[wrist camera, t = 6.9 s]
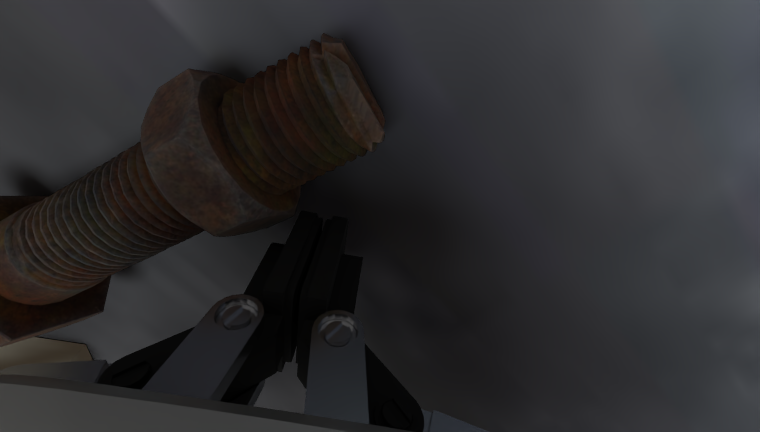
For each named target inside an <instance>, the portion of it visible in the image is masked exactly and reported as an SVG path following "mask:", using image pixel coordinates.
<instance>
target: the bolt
mask: <svg viewBox="0 0 760 432" xmlns="http://www.w3.org/2000/svg"><path fill="white" fill-rule="evenodd" d="M384 124H385V118H384V116H383V113H382V111H381V108H380V106H379V105H378V103H377V101H376V100H375V98H374V96H373V94H372V92H371V90H370V88H369V86H368V84H367V82H366V80H365V77H364V75H363V73H362V71H361V69H360V67H359V65H358V64H357V62H356V61H355V59H354V57H353V56H352V54H351V53H350V51H349V49H348V48H347V46H346V44H345V42H344V41H343V39H337V38H333V37H331V36H329V35H327V34H325V33H323V34H322V36H321V43H319V42H317V41H315V40H311V41H310V49H308V48H307V47H300V53H299V55H297V54H294V53H291V54H290V55H289V56H288V60H285V59H282V60H278V63H277V66H275V65H273V66H268V67H267V70H266V72H263V71H260V72H259V73H257V74H256V75H255V77H252V78H247V79H246V82H245V83H239V82H238V81H236V80H234V79H231V78H229V77H226V76H224V75H221V74H217V73H214V72H207V71H200V70H194V69H187V70H186V71H184V72H182V73H181V74H179V75H178V76H176V77H175V78H173V79H172V80H170V81H168V82H167V83H165V84H164V85H162V86H161V87H159V88H158V89H157V91H156V93H155V95H154V97H153V99H152V101H151V103H150V105H149V107H148V109H147V112H146V115H145V117H144V120H143V123H142V126H141V142H139V143H137V144H136V145H135V146H133V147H131V148H129V149H128V150H126V151H124V152H122V153H120V154H119V155H118V156H117V157H114V158H112V159H111V160H110V161H108V162H105V163H104V164H103V165H102V166H99V167H97V168H96V169H94V170H92V171H90V172H89V173H88V174H87V175H85V176H84V177H81V178H80V179H78V180H77V181H74V182H73V183H71V184H69V185H67V186H65V187H64V188H62V189H61V190H58V191H57V192H55V193H54V194H53V195H51V196H0V347H3V346H7V345H10V344H13V343H16V342H19V341H23V340H26V339H29V338H32V337H35V336H38V335H41V334H44V333H48V332H51V331H54V330H57V329H60V328H63V327H65V326H68V325H71V324H74V323H77V322H79V321H82V320H85V319H87V318H90V317H92V316H94V315H97V314H99V313H101V312H103V310H104V305H105V301H106V296H107V292H108V287H109V283H110V278H111V275H113V274H114V273H116V272H119V271H121V270H122V269H125V268H128V267H129V266H131V265H133V264H136V263H138V262H140V261H143V260H145V259H148V258H149V257H151V256H154V255H156V254H158V253H159V252H162V251H164V250H166V249H167V248H169V247H171V246H174V245H176V244H178V243H180V242H183V241H185V240H186V239H189V238H191V237H193V236H194V235H197V234H199V233H201V232H202V231H207V232H209V233H210V234H212V235H213V236H219V237H226V236H235V235H240V234H244V233H249V232H253V231H257V230H260V229H264V228H268V227H270V226H272V225H274V224H277V223H279V222H281V221H283V220H286V219H288V218H290V217H292V216H294V215H295V212H296V208H297V204H298V200H299V197H300V192H301V185H304V184H305V183H306V182H307V181H310V180H314V179H315V178H316V177H317V176H322V175H324V174H325V172H326V171H334V169H335V167H336V166H344V164H345V163H346V161H347V160H348V161H353V160H355V159H356V156H357V155H358V156H364V155H366V152H367V150H369V151H371V152H374V151H375V150H376V147H377V143H381V142H382V141H384V137H385V132H384V130H383V129H384Z"/></svg>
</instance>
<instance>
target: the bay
mask: <svg viewBox="0 0 760 432" xmlns="http://www.w3.org/2000/svg"><path fill="white" fill-rule="evenodd" d="M92 360H93V359H92V357H91V355H90V353H89V351H88V349H87V347H86V345H85V344H78V343H71V342H65V341H58V340H51V339H44V338H37V337H32V338H29V339H26V340H23V341H19V342H16V343H13V344H10V345H7V346H3V347H0V370H3V369H5V368H8V367H10V366H16V365H21V364H36V363H54V362H73V361H92Z"/></svg>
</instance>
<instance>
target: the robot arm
mask: <svg viewBox="0 0 760 432" xmlns="http://www.w3.org/2000/svg"><path fill="white" fill-rule="evenodd" d="M322 222H323V219H322V218H318V214H317V213H313V212H307V211H301V213H300V215H299V217H298V219H297V221H296V223H295V225H294V227H293V229H292V231H291V233H290V235H289V237H288V239H287V241H286V243H285V244H279V243H272V244H271V245H270V247H269V248H268V250H267V252H266V254H265V256H264V258H263V259H262V261H261V263H260V265H259V267H258V269H257V270H256V272H255V274H254V276H253V278H252V280H251V281H250V283H249V285H248V287H247V289H246V290H245V292H244V294H240V295H232V296H229V297H225V298H224V299H222V300H220V301H218V302H217V303H216V304H215V305H214V306H213V307H212V308H211V309H210V310H209V311H208V312H207V314H206V315H205V316H204V317H203V318H202V319H201V321H200V322H199V323H198V324H197V325H196V326H195V327H193V328H191V329H188V330H186V331H184V332H181V333H179V334H177V335H174V336H172V337H169V338H167V339H165V340H162V341H160V342H158V343H155V344H153V345H151V346H148V347H146V348H143V349H141V350H139V351H136V352H134V353H132V354H129V355H127V356H125V357H123V358H121V359H119V360H117V361H115V362H114V363H112V364H108V363H107V361H106V360H92V361H73V362H54V363H36V364H21V365H16V366H10V367H8V368H5V369H3V370H0V432H488V431H486V430H483V429H481V428H478V427H476V426H473V425H471V424H468V423H466V422H463V421H461V420H458V419H456V418H453V417H451V416H448V415H446V414H443V413H441V412H438V411H436V410H433V412H432V413H431V412H428V411H426V410H423V409H421V408H420V406H419V405H418V403H417V402H416V400H415V399H414V398H413V397H412V396H411V395H410V394H409V392H408V391H407V390H406V389H405V388H404V387H403V386H402V385H401V383H400V382H399V381H398V380H397V379H396V378H395V377H394V376H393V374H392V373H391V372H390V371H389V370H388V369H387V368H386V367H385V366H384V364H383V363H382V362H381V361H380V360H379V359H378V358H377V357H376V355H375V354H374V353H373V352H372V351H371V350H370V349H369V348H368V347H367V345H366V344H365V343H364V329H363V325H362V323H361V322H360V320H359V319H358V318H357V317H356V316H355V315H354V309H355V303H356V297H357V290H358V284H359V278H360V272H361V266H362V260H363V257H357V256H351V255H345V254H344V249H345V242H346V235H347V227H348V218H342V217H336V216H333V218H332V220H330V219H327V220H326V222H325V225H324V228H323V231H322ZM296 346H297V351H296V363H298V370H297V377H298V378H299V380H300V381H301V382H302V384H303V385H304V387H305V388H306V398H305V409H304V414H300V413H294V412H287V411H280V410H274V409H267V408H260V407H254V404H255V402H256V400H257V398H258V396H259V395H260V393H261V391H262V389H263V387H264V384H265V379H266V378H268V377H270V376H271V375H273V374H275V373H276V372H277V371H279V372H282V370H283V367H284V364H285V362H291V361H292V359H293V356H294V353H295V349H296Z"/></svg>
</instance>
